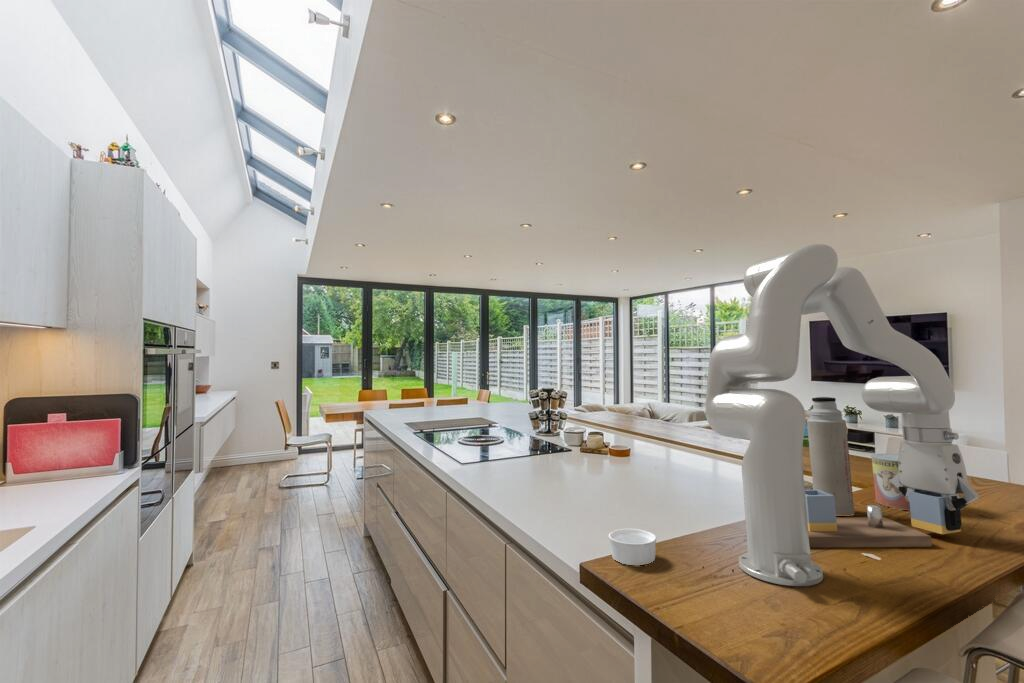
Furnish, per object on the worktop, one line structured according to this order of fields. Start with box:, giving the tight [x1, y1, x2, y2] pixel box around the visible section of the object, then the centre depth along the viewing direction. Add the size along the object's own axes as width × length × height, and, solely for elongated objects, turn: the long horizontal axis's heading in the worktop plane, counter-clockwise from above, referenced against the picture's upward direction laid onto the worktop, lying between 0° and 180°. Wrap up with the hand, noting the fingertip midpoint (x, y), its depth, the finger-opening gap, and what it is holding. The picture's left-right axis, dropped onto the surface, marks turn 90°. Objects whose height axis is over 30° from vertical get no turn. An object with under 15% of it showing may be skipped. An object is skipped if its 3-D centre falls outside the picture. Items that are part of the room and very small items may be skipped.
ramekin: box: [608, 528, 657, 566], centre depth 86 cm, size 9×9×4 cm
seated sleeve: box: [805, 489, 837, 531], centre depth 95 cm, size 5×5×7 cm
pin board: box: [808, 504, 933, 548], centre depth 94 cm, size 12×24×6 cm, turn 86°
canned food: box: [870, 453, 910, 510], centre depth 114 cm, size 11×11×12 cm
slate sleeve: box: [909, 491, 962, 535], centre depth 93 cm, size 5×5×7 cm
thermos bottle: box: [806, 396, 855, 515], centre depth 111 cm, size 8×8×28 cm
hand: (935, 524), depth 93 cm, fingers closed on slate sleeve, 5 cm apart
